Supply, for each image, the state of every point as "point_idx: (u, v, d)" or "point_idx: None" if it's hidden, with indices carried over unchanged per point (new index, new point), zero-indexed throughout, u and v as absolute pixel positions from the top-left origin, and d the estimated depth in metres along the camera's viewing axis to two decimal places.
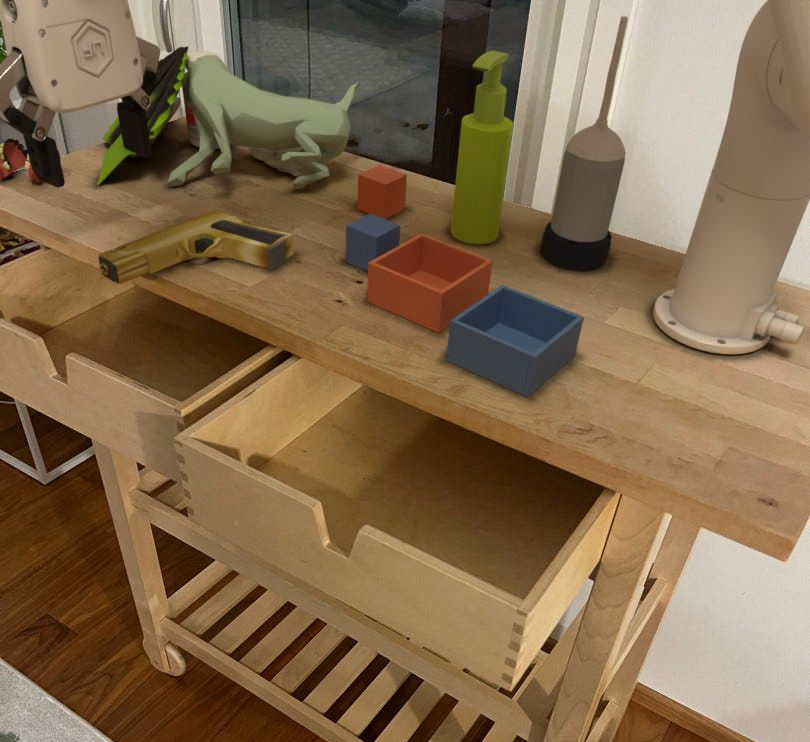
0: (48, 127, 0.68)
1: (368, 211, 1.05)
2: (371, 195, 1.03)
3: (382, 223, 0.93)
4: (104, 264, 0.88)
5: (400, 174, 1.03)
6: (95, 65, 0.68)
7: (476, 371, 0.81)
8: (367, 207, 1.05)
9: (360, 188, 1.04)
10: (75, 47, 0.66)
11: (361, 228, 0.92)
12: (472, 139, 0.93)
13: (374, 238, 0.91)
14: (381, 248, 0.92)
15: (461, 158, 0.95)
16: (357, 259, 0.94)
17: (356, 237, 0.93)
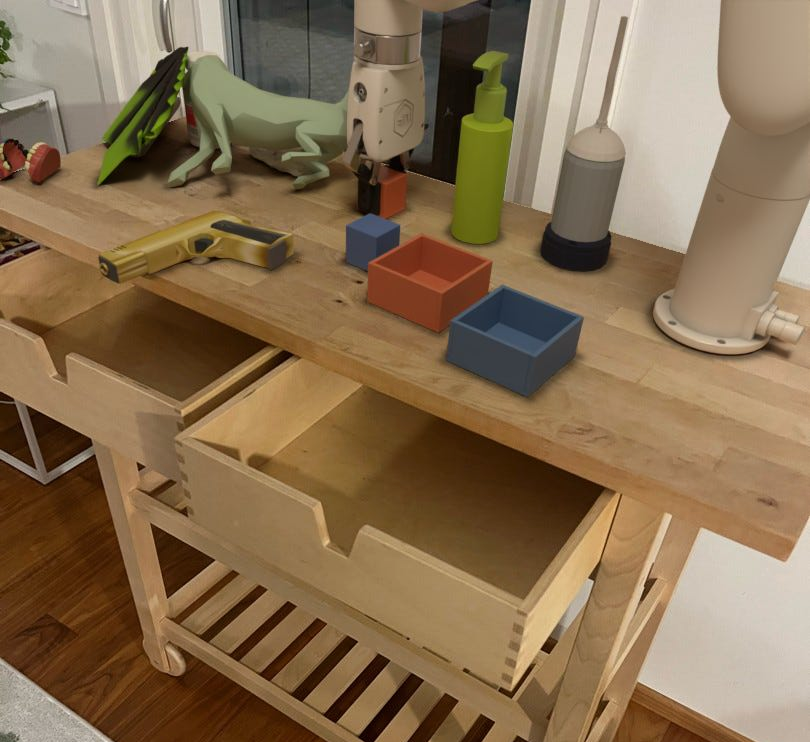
0: (378, 173, 1.00)
1: None
2: None
3: (382, 223, 0.93)
4: (104, 264, 0.88)
5: (400, 174, 1.03)
6: (402, 129, 0.98)
7: (476, 371, 0.81)
8: None
9: None
10: (395, 118, 0.96)
11: (361, 228, 0.92)
12: (472, 139, 0.93)
13: (374, 238, 0.91)
14: (381, 248, 0.92)
15: (461, 158, 0.95)
16: (357, 259, 0.94)
17: (356, 237, 0.93)
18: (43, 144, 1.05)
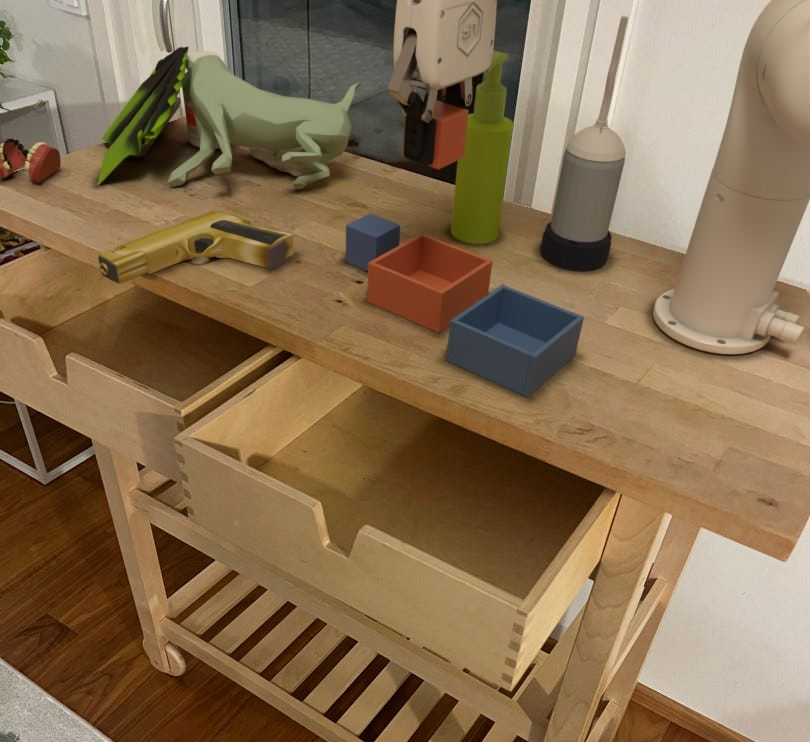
0: (433, 107, 0.76)
1: None
2: None
3: (382, 223, 0.93)
4: (104, 264, 0.88)
5: (460, 110, 0.79)
6: (467, 45, 0.73)
7: (476, 371, 0.81)
8: None
9: None
10: (459, 28, 0.71)
11: (361, 228, 0.92)
12: (472, 139, 0.93)
13: (374, 238, 0.91)
14: (381, 248, 0.92)
15: (461, 158, 0.95)
16: (357, 259, 0.94)
17: (356, 237, 0.93)
18: (43, 144, 1.05)
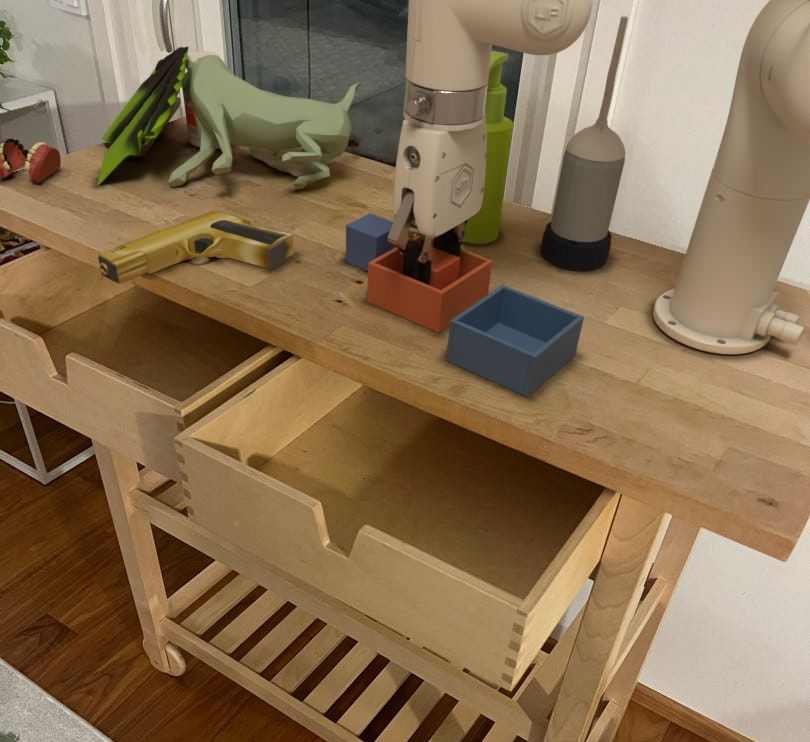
0: (428, 250, 0.83)
1: None
2: None
3: (382, 223, 0.93)
4: (104, 264, 0.88)
5: (452, 257, 0.87)
6: (460, 198, 0.81)
7: (476, 371, 0.81)
8: None
9: None
10: (453, 186, 0.79)
11: (361, 228, 0.92)
12: None
13: (374, 238, 0.91)
14: (381, 248, 0.92)
15: None
16: (357, 259, 0.94)
17: (356, 237, 0.93)
18: (43, 144, 1.05)
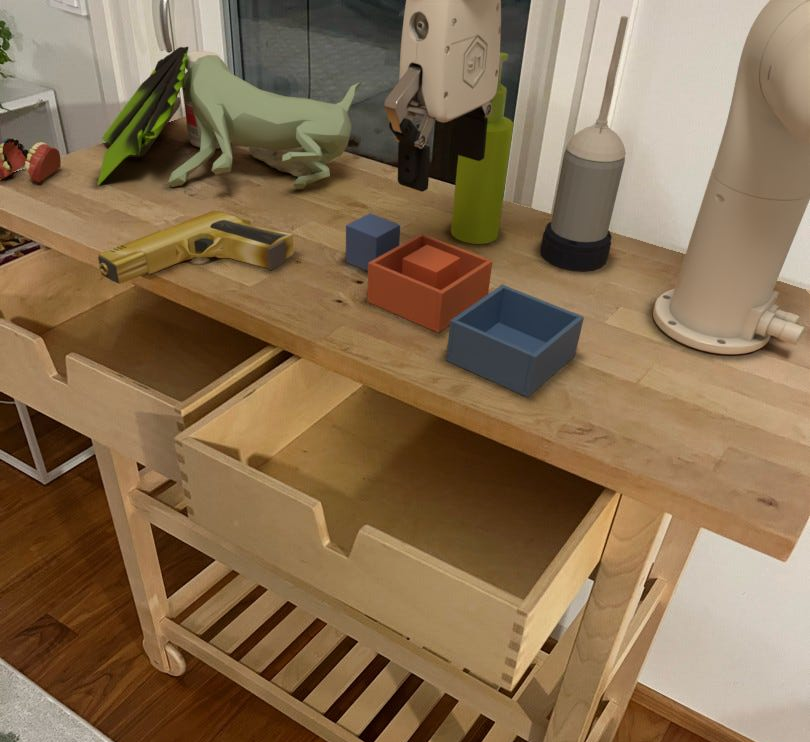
0: (427, 136, 0.74)
1: None
2: None
3: (382, 223, 0.93)
4: (104, 264, 0.88)
5: (452, 257, 0.87)
6: (473, 77, 0.74)
7: (476, 371, 0.81)
8: None
9: (405, 274, 0.88)
10: (465, 61, 0.71)
11: (361, 228, 0.92)
12: None
13: (374, 238, 0.91)
14: (381, 248, 0.92)
15: (461, 158, 0.95)
16: (357, 259, 0.94)
17: (356, 237, 0.93)
18: (43, 144, 1.05)
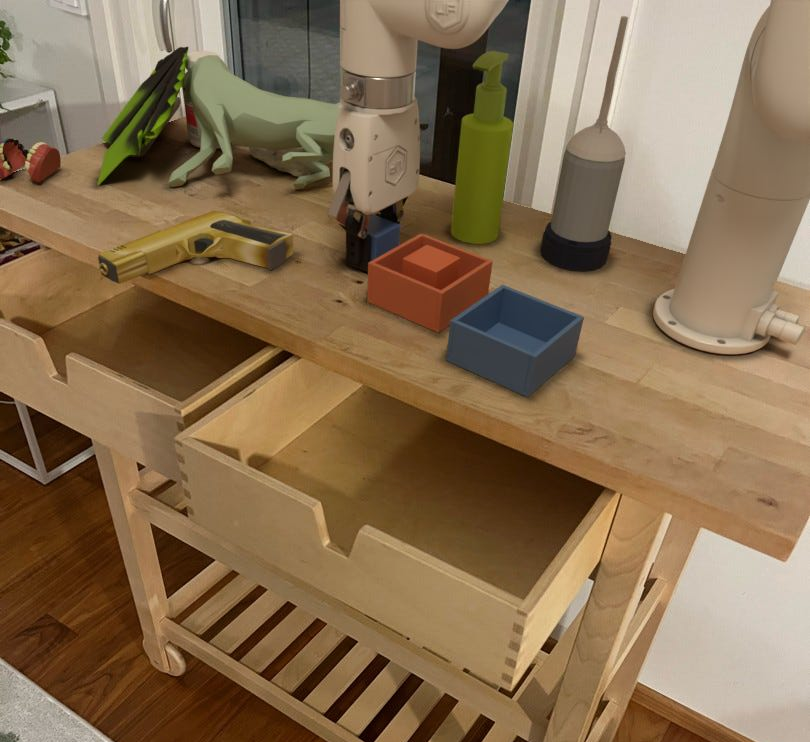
0: (368, 226, 0.90)
1: None
2: None
3: (382, 223, 0.93)
4: (104, 264, 0.88)
5: (452, 257, 0.87)
6: (395, 177, 0.88)
7: (476, 371, 0.81)
8: None
9: (405, 274, 0.88)
10: (386, 166, 0.85)
11: None
12: (472, 139, 0.93)
13: (374, 238, 0.91)
14: (381, 248, 0.92)
15: (461, 158, 0.95)
16: None
17: None
18: (43, 144, 1.05)
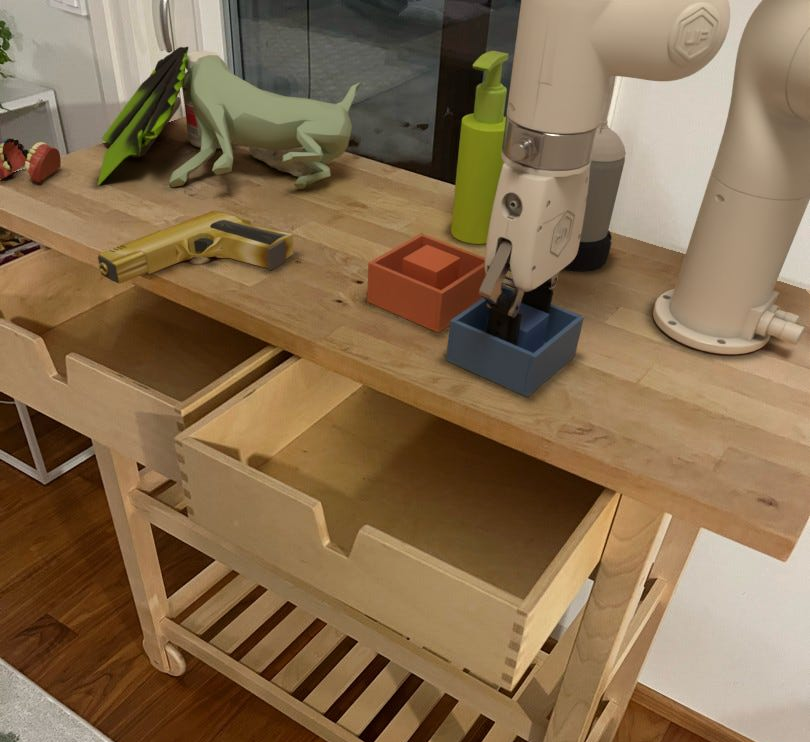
0: (520, 303, 0.75)
1: None
2: None
3: (529, 312, 0.80)
4: (103, 264, 0.88)
5: (452, 257, 0.87)
6: (558, 247, 0.73)
7: (476, 371, 0.81)
8: None
9: (405, 274, 0.88)
10: (553, 235, 0.71)
11: None
12: (472, 139, 0.93)
13: (523, 332, 0.78)
14: (529, 342, 0.79)
15: (461, 158, 0.95)
16: None
17: None
18: (43, 144, 1.05)
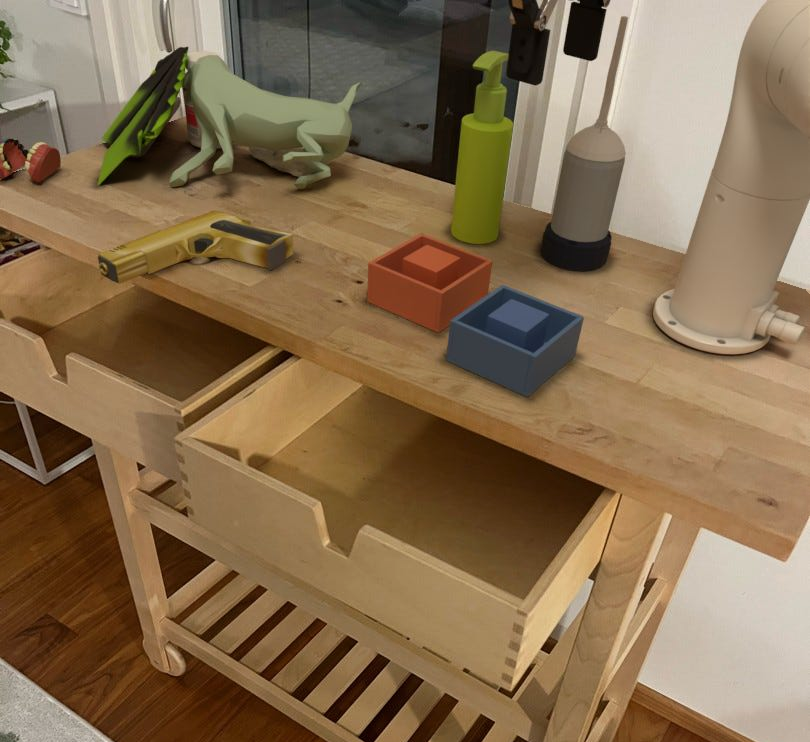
0: (549, 16, 0.65)
1: None
2: None
3: (529, 312, 0.80)
4: (103, 264, 0.88)
5: (452, 257, 0.87)
6: None
7: (476, 371, 0.81)
8: None
9: (405, 274, 0.88)
10: None
11: (507, 320, 0.79)
12: (472, 139, 0.93)
13: (523, 332, 0.78)
14: (529, 342, 0.79)
15: (461, 158, 0.95)
16: None
17: (499, 329, 0.79)
18: (43, 144, 1.05)
